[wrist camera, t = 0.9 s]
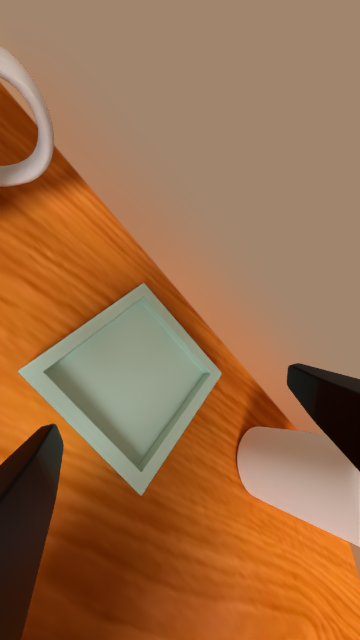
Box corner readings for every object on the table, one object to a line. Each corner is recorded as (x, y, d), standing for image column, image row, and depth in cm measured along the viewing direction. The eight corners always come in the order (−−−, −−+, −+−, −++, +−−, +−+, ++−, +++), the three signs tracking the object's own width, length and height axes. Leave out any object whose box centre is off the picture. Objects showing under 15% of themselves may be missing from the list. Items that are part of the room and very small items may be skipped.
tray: (211, 375, 23) (222, 373, 22) (133, 487, 17) (140, 496, 15) (137, 290, 22) (143, 282, 21) (20, 374, 15) (17, 371, 14)
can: (285, 452, 25) (435, 485, 15) (264, 512, 21) (444, 607, 12) (250, 412, 24) (384, 420, 15) (223, 467, 21) (377, 526, 11)
